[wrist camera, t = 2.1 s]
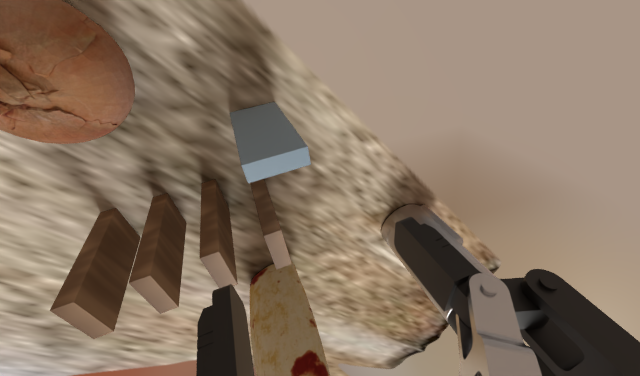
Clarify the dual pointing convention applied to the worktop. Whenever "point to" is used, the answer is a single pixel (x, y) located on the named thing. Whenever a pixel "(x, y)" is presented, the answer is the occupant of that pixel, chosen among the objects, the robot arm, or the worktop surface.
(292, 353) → the food model
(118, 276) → the domino
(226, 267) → the domino
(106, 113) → the onion
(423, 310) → the worktop surface
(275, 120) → the domino
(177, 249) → the domino
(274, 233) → the domino
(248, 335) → the robot arm
